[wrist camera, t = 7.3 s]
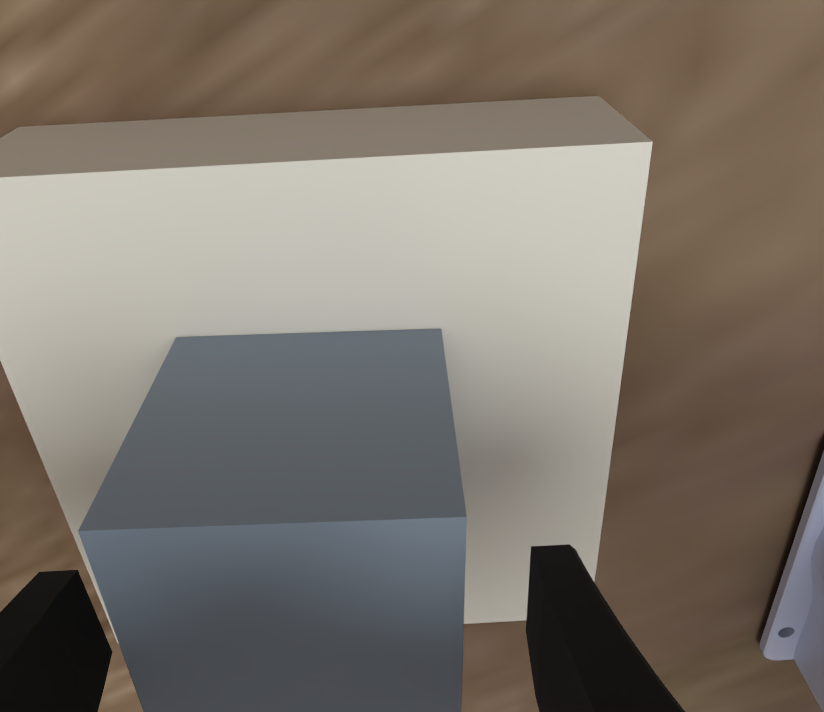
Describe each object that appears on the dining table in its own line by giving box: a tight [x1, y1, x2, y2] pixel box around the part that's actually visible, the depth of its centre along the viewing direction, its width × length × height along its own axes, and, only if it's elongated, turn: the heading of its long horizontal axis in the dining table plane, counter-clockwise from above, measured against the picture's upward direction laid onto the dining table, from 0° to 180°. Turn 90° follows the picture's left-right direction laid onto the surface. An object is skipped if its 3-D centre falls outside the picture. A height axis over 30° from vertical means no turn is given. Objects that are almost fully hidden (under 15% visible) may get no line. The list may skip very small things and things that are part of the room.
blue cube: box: [78, 329, 467, 712], centre depth 13 cm, size 5×5×5 cm
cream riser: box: [0, 96, 653, 644], centre depth 17 cm, size 12×12×4 cm
